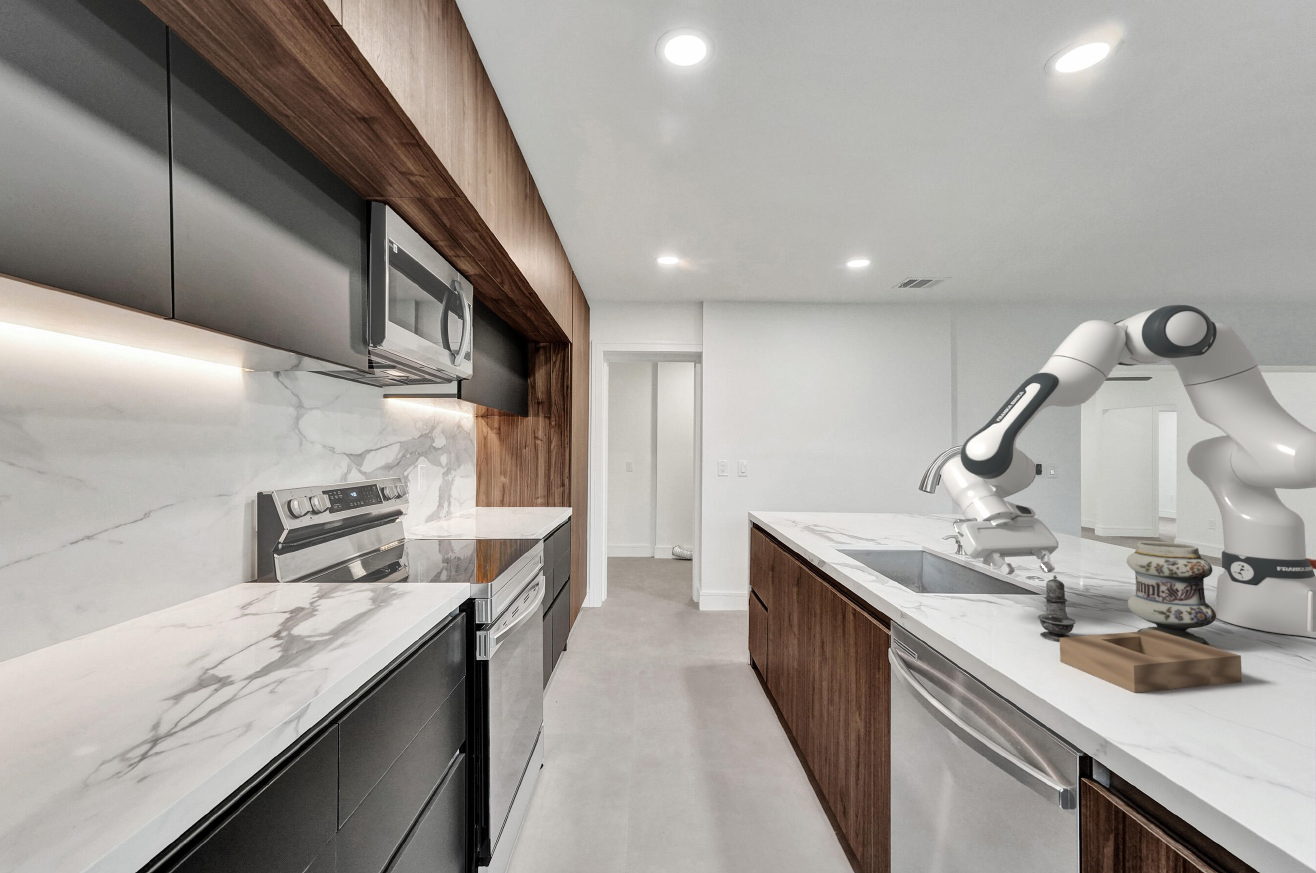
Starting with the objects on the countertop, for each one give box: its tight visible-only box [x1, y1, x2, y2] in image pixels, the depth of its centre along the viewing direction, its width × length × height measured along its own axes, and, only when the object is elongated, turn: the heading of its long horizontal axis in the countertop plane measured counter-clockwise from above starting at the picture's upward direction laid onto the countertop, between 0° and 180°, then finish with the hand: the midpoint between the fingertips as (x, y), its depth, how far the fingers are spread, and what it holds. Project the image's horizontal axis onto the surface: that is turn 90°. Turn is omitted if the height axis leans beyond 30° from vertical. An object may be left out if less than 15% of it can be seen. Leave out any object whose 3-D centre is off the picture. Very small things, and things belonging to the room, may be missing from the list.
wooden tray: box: [1059, 630, 1243, 694], centre depth 86 cm, size 20×12×4 cm, turn 100°
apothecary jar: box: [1126, 541, 1217, 646], centre depth 101 cm, size 12×12×18 cm
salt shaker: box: [1037, 574, 1076, 643], centre depth 102 cm, size 6×6×12 cm
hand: (1030, 572), depth 108 cm, fingers open, 8 cm apart
